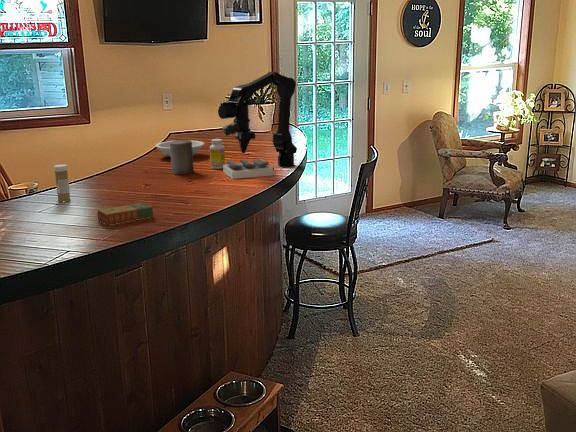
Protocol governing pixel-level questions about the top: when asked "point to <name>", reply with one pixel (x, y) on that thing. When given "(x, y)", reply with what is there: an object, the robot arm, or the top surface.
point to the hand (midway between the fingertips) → (243, 153)
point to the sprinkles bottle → (62, 182)
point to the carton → (125, 213)
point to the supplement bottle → (217, 154)
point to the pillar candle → (181, 157)
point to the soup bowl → (165, 147)
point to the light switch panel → (247, 171)
